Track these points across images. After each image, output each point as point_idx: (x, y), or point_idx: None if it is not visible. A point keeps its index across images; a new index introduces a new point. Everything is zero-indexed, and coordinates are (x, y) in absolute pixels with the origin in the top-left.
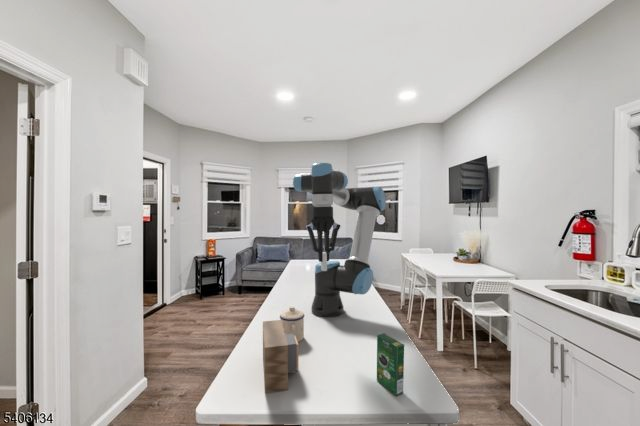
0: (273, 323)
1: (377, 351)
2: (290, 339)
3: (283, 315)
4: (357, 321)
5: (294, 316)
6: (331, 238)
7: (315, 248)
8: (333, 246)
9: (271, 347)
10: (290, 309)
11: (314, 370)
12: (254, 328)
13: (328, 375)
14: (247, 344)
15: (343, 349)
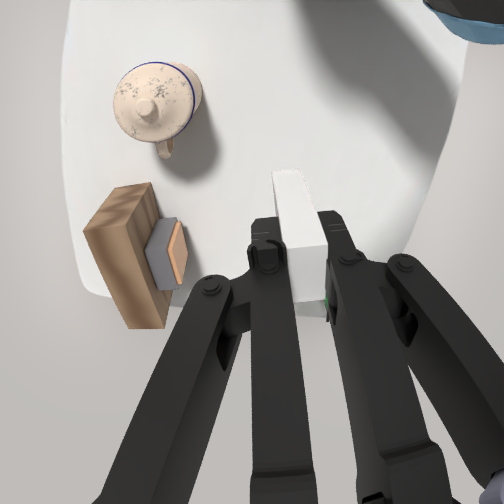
0: (111, 244)
1: (326, 308)
2: (163, 273)
3: (123, 124)
4: (386, 22)
5: (159, 135)
6: (449, 367)
7: (217, 348)
8: (407, 330)
9: (138, 328)
10: (140, 115)
11: (219, 235)
12: (68, 38)
13: (242, 251)
14: (69, 127)
15: (296, 168)
